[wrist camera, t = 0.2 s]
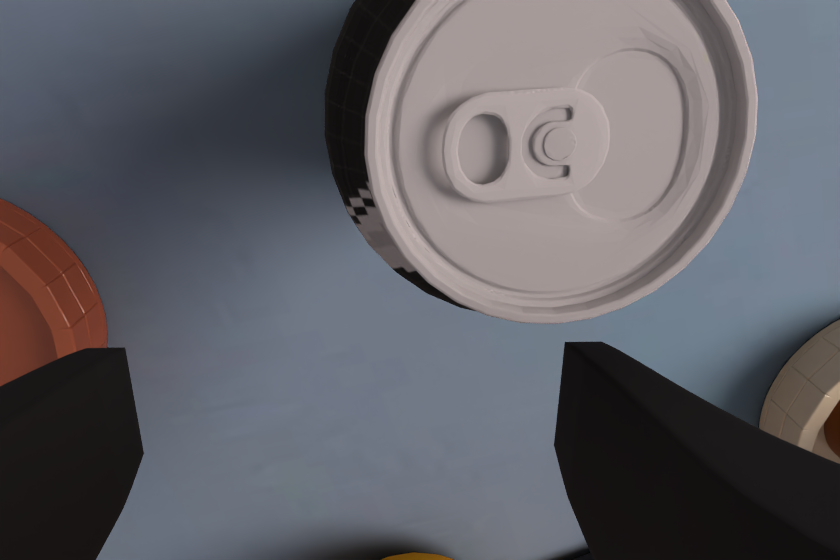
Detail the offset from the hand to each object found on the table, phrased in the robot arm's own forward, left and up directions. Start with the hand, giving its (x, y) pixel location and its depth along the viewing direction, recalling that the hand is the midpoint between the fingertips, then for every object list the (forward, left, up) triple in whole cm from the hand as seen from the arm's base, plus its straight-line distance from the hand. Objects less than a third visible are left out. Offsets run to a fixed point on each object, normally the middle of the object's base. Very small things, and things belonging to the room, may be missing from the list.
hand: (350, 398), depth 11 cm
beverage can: (+5, -3, -10) cm, 11 cm away
